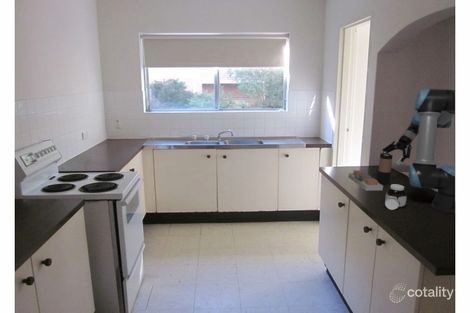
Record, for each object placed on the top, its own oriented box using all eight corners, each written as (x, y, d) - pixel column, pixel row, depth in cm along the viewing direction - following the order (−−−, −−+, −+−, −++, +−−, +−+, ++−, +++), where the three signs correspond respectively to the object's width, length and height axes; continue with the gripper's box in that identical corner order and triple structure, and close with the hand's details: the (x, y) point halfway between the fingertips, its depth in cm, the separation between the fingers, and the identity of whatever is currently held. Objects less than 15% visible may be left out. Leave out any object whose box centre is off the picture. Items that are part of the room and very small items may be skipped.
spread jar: (401, 203, 193) (404, 184, 191) (409, 211, 182) (412, 191, 180) (379, 202, 195) (381, 183, 192) (386, 210, 184) (388, 190, 181)
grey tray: (382, 190, 215) (383, 185, 214) (365, 190, 215) (366, 185, 214) (363, 177, 242) (363, 172, 242) (348, 177, 242) (348, 172, 241)
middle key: (371, 181, 225) (371, 176, 224) (362, 181, 225) (362, 177, 224) (367, 178, 231) (367, 174, 230) (358, 178, 231) (358, 174, 230)
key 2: (377, 185, 216) (378, 181, 216) (368, 185, 216) (368, 181, 215) (373, 182, 222) (373, 178, 222) (364, 182, 222) (364, 178, 221)
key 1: (365, 177, 234) (365, 172, 233) (356, 177, 234) (357, 173, 233) (361, 174, 240) (361, 170, 239) (353, 174, 239) (353, 170, 239)
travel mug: (376, 184, 227) (379, 154, 223) (377, 180, 234) (380, 152, 229) (388, 185, 224) (392, 156, 219) (389, 182, 231) (393, 153, 226)
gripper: (426, 145, 222) (407, 170, 219) (393, 138, 243) (376, 161, 241) (421, 138, 218) (402, 163, 215) (389, 132, 240) (371, 154, 237)
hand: (388, 162), depth 228 cm, fingers open, 13 cm apart
